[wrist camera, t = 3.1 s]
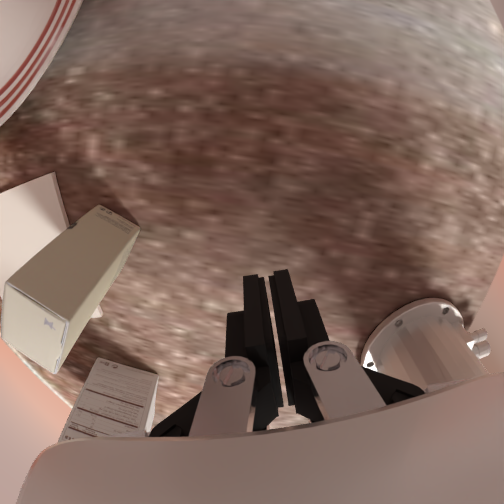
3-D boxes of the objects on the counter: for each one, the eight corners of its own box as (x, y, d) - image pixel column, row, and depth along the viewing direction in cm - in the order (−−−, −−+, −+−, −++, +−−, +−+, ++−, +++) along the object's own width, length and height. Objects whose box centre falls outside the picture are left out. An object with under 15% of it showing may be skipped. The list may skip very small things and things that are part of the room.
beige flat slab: (54, 171, 22) (50, 173, 22) (103, 313, 28) (101, 317, 27) (-29, 207, 23) (-33, 208, 23) (16, 320, 29) (14, 323, 28)
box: (99, 201, 24) (2, 273, 12) (143, 227, 25) (70, 320, 13) (79, 252, 25) (-3, 339, 14) (120, 276, 26) (55, 379, 15)
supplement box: (156, 411, 34) (136, 500, 22) (99, 394, 33) (67, 477, 22) (161, 373, 31) (135, 474, 20) (96, 354, 30) (53, 446, 19)
